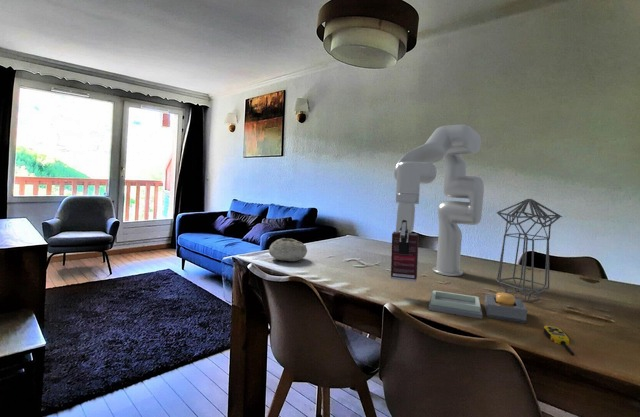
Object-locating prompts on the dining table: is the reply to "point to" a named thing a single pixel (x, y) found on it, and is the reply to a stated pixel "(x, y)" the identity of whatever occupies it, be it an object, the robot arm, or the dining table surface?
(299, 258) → the grey rounded lump
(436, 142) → the robot arm
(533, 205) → the geometric lantern
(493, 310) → the button housing
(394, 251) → the supplement box
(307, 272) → the dining table surface
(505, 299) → the button
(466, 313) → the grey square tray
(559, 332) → the yellow black handheld tool
